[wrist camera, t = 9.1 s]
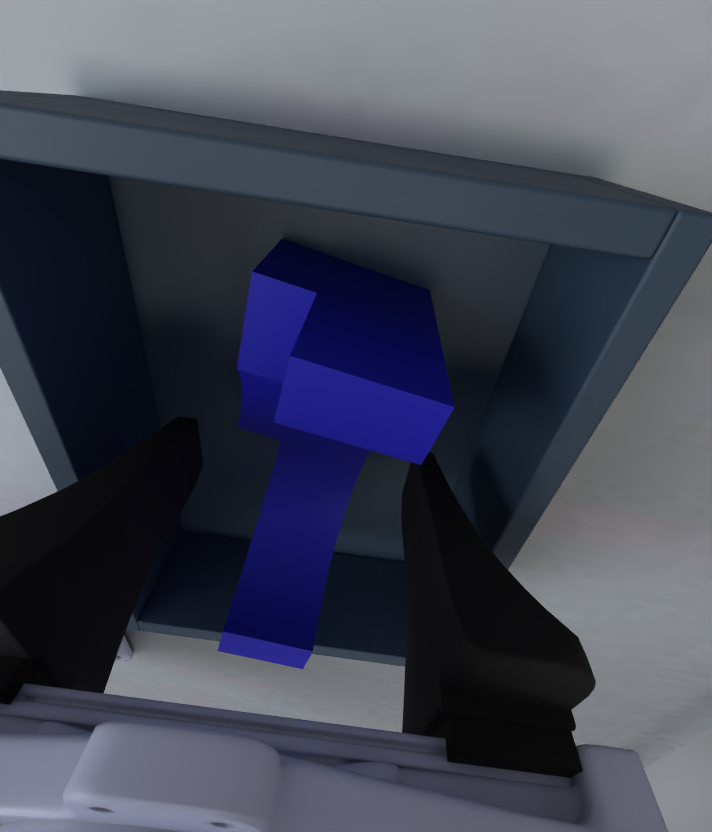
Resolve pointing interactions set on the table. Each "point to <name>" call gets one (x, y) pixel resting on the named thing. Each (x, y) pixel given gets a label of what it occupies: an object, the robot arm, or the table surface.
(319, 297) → the blue cradle bracket
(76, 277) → the desk bin
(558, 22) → the table surface
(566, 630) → the robot arm
